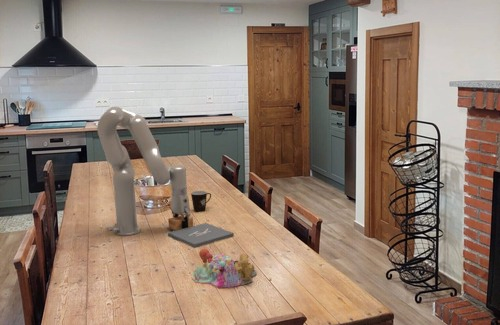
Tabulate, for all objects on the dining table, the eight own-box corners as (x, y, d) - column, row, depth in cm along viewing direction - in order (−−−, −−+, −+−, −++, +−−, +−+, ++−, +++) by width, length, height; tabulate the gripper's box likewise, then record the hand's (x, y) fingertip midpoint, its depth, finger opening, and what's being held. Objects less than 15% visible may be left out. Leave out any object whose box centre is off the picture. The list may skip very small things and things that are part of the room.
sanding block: (175, 231, 254) (174, 221, 253) (168, 228, 259) (168, 218, 258) (193, 227, 260) (192, 217, 259) (186, 224, 265) (186, 214, 264)
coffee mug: (193, 213, 284) (192, 195, 282) (190, 209, 292) (189, 191, 290) (214, 211, 287) (213, 193, 285) (211, 207, 295) (210, 189, 293)
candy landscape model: (255, 263, 213) (254, 241, 211) (258, 288, 190) (258, 263, 188) (193, 265, 212) (192, 243, 210) (188, 290, 189) (187, 266, 187)
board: (194, 247, 231) (194, 244, 231) (167, 235, 248) (167, 232, 248) (233, 236, 245) (233, 232, 245) (205, 225, 262) (205, 222, 262)
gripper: (195, 192, 252) (197, 228, 255) (175, 187, 265) (177, 221, 268) (182, 195, 247) (184, 232, 250) (163, 189, 260) (165, 224, 263)
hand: (181, 226), depth 259 cm, fingers closed on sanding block, 6 cm apart
